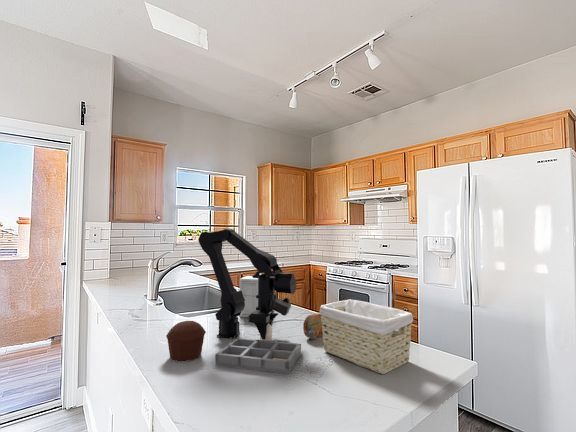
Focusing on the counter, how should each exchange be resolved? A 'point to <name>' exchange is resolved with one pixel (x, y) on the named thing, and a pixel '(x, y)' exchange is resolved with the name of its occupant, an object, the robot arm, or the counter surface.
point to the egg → (268, 333)
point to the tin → (313, 326)
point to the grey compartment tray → (259, 355)
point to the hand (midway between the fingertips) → (265, 337)
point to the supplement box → (249, 294)
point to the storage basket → (367, 334)
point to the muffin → (185, 341)
